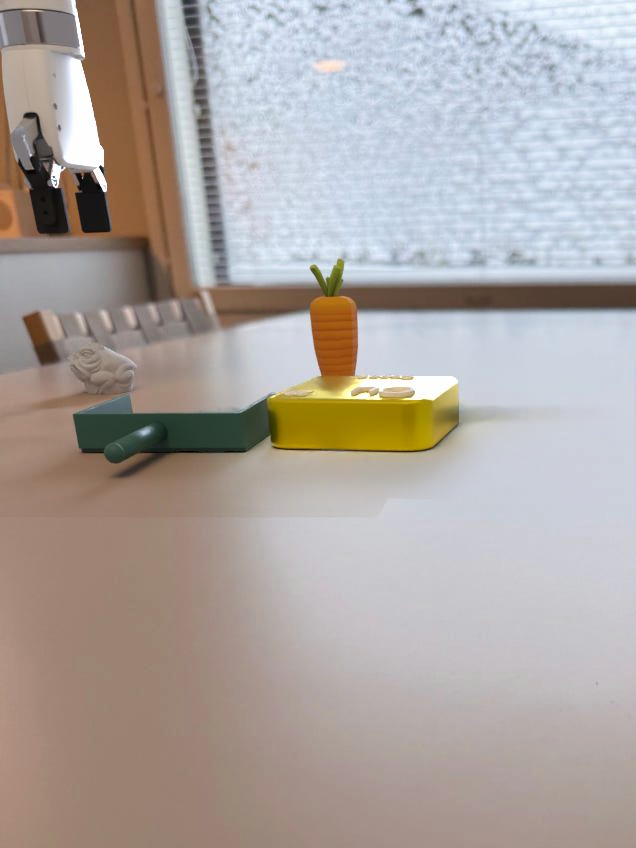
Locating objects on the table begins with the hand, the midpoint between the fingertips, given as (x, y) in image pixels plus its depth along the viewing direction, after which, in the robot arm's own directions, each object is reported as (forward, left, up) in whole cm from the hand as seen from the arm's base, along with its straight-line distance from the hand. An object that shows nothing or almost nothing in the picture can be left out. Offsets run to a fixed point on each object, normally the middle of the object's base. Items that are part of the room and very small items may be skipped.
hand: (77, 232), depth 99 cm
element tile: (+32, -16, -18) cm, 40 cm away
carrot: (+26, 0, -18) cm, 32 cm away
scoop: (+15, -23, -18) cm, 33 cm away
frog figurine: (0, 0, -18) cm, 18 cm away
